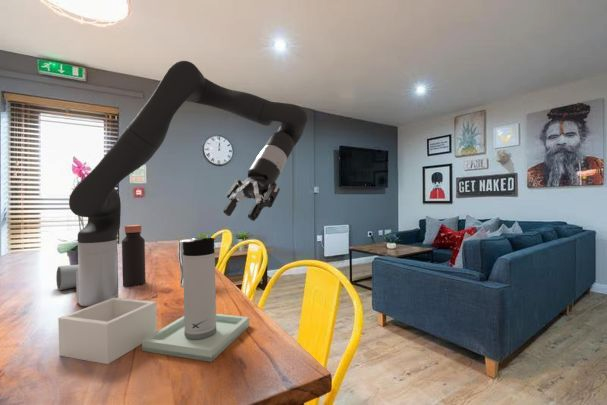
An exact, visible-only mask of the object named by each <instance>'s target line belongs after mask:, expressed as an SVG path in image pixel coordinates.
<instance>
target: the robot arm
mask: <svg viewBox="0 0 607 405" xmlns="http://www.w3.org/2000/svg"><path fill="white" fill-rule="evenodd" d="M185 102H188V103H195V104H198V105H203V106H208V107H212V108H216V109H219V110H220V109H221V110H222V111H225V112H228V113H231V114H234V115H236V116H238V117H241V118H243V119H246V120H248V121H251V122H254V123H257V124H259V125H262V126H266V127H267V126H271V124H272V123H273V122H279V123H280V126H279V128H278V130H277V131H276V132H274V133H272V135H271V136H270V138H269V139H268V140H267V142H266V143H265V145H264V147H263V148H262V149H261V150H260V152H259V153H258V154H257V156H256V158H255V159H254V160H253V163H252V164H251V166H250V167H249V169H248V171H247V178H246V179H245V180H243V181H242V180H241V179H240V178H237V179H236V180H235V181H234V182H233V183H232V185H231V187H230V188H229V189H228V191H227V193H225V197H226V198H228V202H227V203H226V204H225V206H224V208H223V213H224V214H225V215H226V216H228V217H230V216H232V214H233V212H234V211H235V209H236V208H237V206H238V204H240V203H241V202H242V201H246V200H247V199H253V200H255V202H256V203H253V205H252V207H251V209H250V211H249V212H248V214H247V218H248V219H250V221H252V222H254V221H256V220H257V219H258V217H259V216H260V214H261V212H262V210H263V209H265V208H271V207H273V204H274V203H275V200H276V199H277V197H278V194H279V192H280V191H281V188H280V186H278V184H277V183H276V182H277V180H278V178H279V177H280V174H281V172H282V171H283V170H284V167H285V166H286V162H287V160H288V159H289V156H290V155H291V153H292V151H293V148H294V147H295V146H296V145H297V143H298V142H299V140H300V139H301V137H302V135H303V133H304V131H305V128H306V125H307V122H308V117H309V116H308V113H307V112H306V110H304V108H302V107H301V106H299V105H297V104H294V103H286V102H279V101H277V102H276V101H270V100H268V99H265V98H262V97H260V96H258V95H256V94H252V93H249V92H244V91H239V90H234V89H229V88H226V87H224V86H221V85H219V84H216V83H214V82H213V81H211V80H210V79H208V78H206V77H205V76H204V75H203V73H202V71H200V70H199V68H198V67H197V66H196V64H194V63H193V62H191V61H188V60H180V61H177V62H174V63H173V64H172V65H171V66H170V67H169V68H168V69H167V71H166V72H165V74H164V75H163V78H162V79H161V81H160V82H159V83H158V85H157V86H156V88H155V90H154V92H153V93H152V95H151V96H150V98H149V99H148V100H147V102H146V103H145V104H144V105H143V106H142V108H140V111H139V112H138V113H137V115H135V117H134V119H133V120H132V121H131V122H130V123H129V124H128V126H127V127H126V128H125V129H124V130H123V132H122V133H121V134H120V136H119V137H118V138H117V140H116V141H115V143H114V144H112V147H110V149H109V150H108V151H107V153H106V154H105V155H104V156H103V157H102V159H101V160H100V161H99V162H98V164H97V165H96V166H95V167H94V168H93V169H92V170H91V171H90V172H89V173H88V174H87V175H86V176H85V177H84V178H83V179H82V180H81V181H79V183H78V184H77V185H76V186H75V187H74V188H73V190H72V192H71V193H70V195H69V199H68V205H69V209H70V211H71V212H72V213H73V214H74V215H76V216H78V217H82V218H87V223H86V225H85V226H84V227H83V228H82V229H80V230H79V231H78V233H77V254H78V255H77V260H78V262H77V265H78V269H77V270H76V287H75V288H76V304H79V306H81V307H90V306H92V305H95V304H98V303H100V302H103V301H106V300H109V299H111V298H120V297H119V296H120V295H119V263H118V262H119V260H118V234H119V232H120V231H119V230H120V228H121V217H122V216H121V215H122V214H121V211H122V210H121V209H122V208H121V207H122V206H121V205H122V203H121V202H122V201H121V197H120V194H119V192H118V190H117V189H116V188H117V186H118V185H119V183H121V182H122V181H123V180H124V179H126V177H128V176H129V175H131V174H133V173H134V172H135V171H137V170H138V169H140V168H142V166H144V165H145V164H147V162H149V161H150V159H152V157H153V156H154V155H155V154H156V152H157V151H158V150H159V149H160V147H161V145H162V144H163V142H164V141H165V139H166V136H167V133H168V130H169V128H170V125H171V122H172V120H173V117H174V116H175V114H176V113H177V112H178V110H179V109H180V107H181V106H183V104H184V103H185ZM232 193H233V194H232ZM237 197H238V198H237Z"/></svg>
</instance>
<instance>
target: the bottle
mask: <svg viewBox="0 0 607 405" xmlns="http://www.w3.org/2000/svg"><path fill="white" fill-rule="evenodd" d="M141 234H142V225H141V224H131V225H125V226H124V235H125V237H124V238H123V239H122V240H121V258H122V259H121V264H122V266H121V268H122V286H123V287H125V288H126V287H127V288H129V287H132V288H133V287H138V285H139V286H141V285H144V284H145V283H146V280H147V279H146V244H145V243H146V242H145V238H143V237H142V236H141Z"/></svg>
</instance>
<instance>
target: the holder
mask: <svg viewBox="0 0 607 405" xmlns="http://www.w3.org/2000/svg"><path fill="white" fill-rule="evenodd" d="M157 315H158V314H157V301H151V300H149V301H148V300H140V299H130V298H121V297H118V298H111V299H109V300H106V301H103V302H100V303H98V304H95V305H92V306H86V307H85V308H82V309H79V310H76V311H74V312H71V313H69V314H66V315H64V316H63V315H62V316H60V317H58V318H57V320H58V322H57V323H58V324H57V325H58V352H59V354H58V355H59V356H60V357H66V358H70V359H71V358H72V359H76V360H81V361H82V360H83V361H87V362H94V363H99V364H104V365H105V364H106V365H110V364H111V363H112V362H115V360H117V359H119V358H121V357H122V356H124V355H126V354H127V353H129V352H131V351H132V350H134V349H136V348H137V347H139V346H142V340H144V339H145V338H147V337H149V336H150V335H152V334H154V333H155V332H157V331H158V324H157V318H158V317H157Z"/></svg>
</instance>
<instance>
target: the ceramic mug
mask: <svg viewBox="0 0 607 405" xmlns="http://www.w3.org/2000/svg"><path fill="white" fill-rule="evenodd" d="M77 269H78V264H69V265H59V266H58V267H57V269H56V276H55V280H56V286H57V287H56V288H57V290H58V291H64V290H69V289H70V290H71V289H74V288H76V270H77Z"/></svg>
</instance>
